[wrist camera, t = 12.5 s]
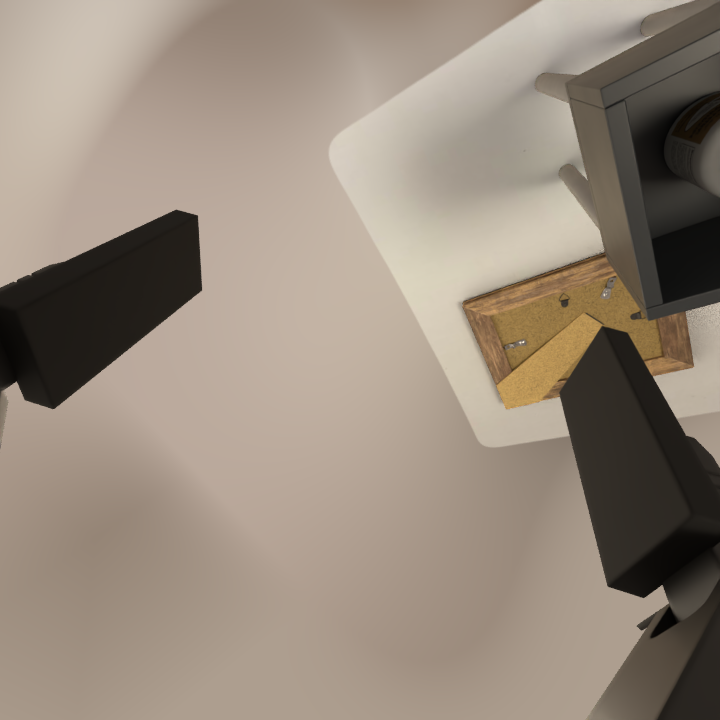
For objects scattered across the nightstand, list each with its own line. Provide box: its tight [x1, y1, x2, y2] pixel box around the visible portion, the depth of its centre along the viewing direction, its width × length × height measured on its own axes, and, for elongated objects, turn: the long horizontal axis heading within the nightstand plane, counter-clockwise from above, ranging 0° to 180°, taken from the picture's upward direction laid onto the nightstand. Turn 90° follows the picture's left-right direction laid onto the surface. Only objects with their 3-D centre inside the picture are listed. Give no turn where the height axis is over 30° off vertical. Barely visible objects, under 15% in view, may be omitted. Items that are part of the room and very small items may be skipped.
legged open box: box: [535, 0, 720, 321], centre depth 29 cm, size 12×12×31 cm
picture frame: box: [463, 253, 694, 409], centre depth 54 cm, size 19×2×24 cm
